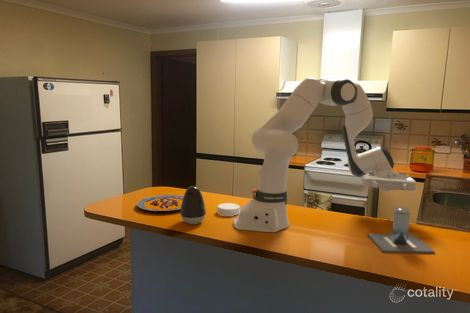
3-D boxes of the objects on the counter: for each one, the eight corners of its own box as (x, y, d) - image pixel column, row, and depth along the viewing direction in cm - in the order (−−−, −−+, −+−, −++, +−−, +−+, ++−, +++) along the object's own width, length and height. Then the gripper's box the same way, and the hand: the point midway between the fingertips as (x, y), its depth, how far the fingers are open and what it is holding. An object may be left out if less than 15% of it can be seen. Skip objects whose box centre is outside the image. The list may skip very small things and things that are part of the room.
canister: (395, 244, 125) (397, 211, 123) (389, 239, 130) (391, 206, 128) (409, 244, 125) (412, 211, 123) (403, 239, 130) (406, 207, 128)
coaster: (229, 218, 154) (229, 210, 153) (212, 213, 160) (212, 206, 160) (244, 213, 162) (244, 205, 161) (227, 208, 168) (227, 201, 167)
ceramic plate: (125, 207, 168) (125, 201, 167) (167, 196, 188) (167, 190, 188) (163, 219, 153) (163, 212, 152) (204, 205, 173) (204, 199, 172)
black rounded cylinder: (176, 225, 145) (175, 188, 143) (187, 217, 155) (186, 182, 152) (199, 228, 142) (199, 190, 140) (209, 219, 152) (209, 184, 149)
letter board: (383, 252, 120) (383, 250, 120) (367, 235, 135) (367, 233, 135) (434, 253, 120) (434, 251, 120) (413, 236, 135) (413, 234, 135)
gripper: (361, 170, 157) (363, 176, 144) (413, 174, 152) (419, 181, 138) (360, 185, 158) (361, 192, 145) (411, 189, 153) (417, 197, 139)
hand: (390, 187), depth 142 cm, fingers open, 8 cm apart
